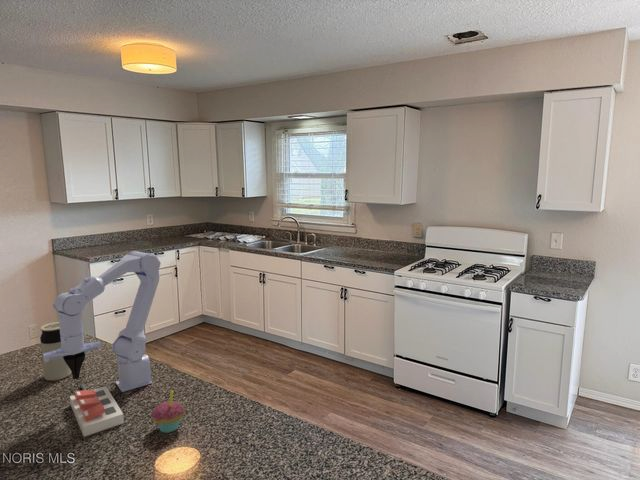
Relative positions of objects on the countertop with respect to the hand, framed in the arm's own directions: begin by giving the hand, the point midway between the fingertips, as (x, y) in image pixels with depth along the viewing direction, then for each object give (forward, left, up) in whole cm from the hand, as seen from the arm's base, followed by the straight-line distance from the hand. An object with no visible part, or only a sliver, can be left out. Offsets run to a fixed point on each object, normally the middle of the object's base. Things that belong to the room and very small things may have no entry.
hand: (75, 377), depth 126 cm
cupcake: (-17, +27, -10) cm, 33 cm away
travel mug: (+2, -27, -10) cm, 29 cm away
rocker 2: (-2, +13, -6) cm, 14 cm away
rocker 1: (-2, +1, -6) cm, 6 cm away
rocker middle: (-2, +7, -6) cm, 9 cm away
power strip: (-3, +2, -9) cm, 10 cm away
